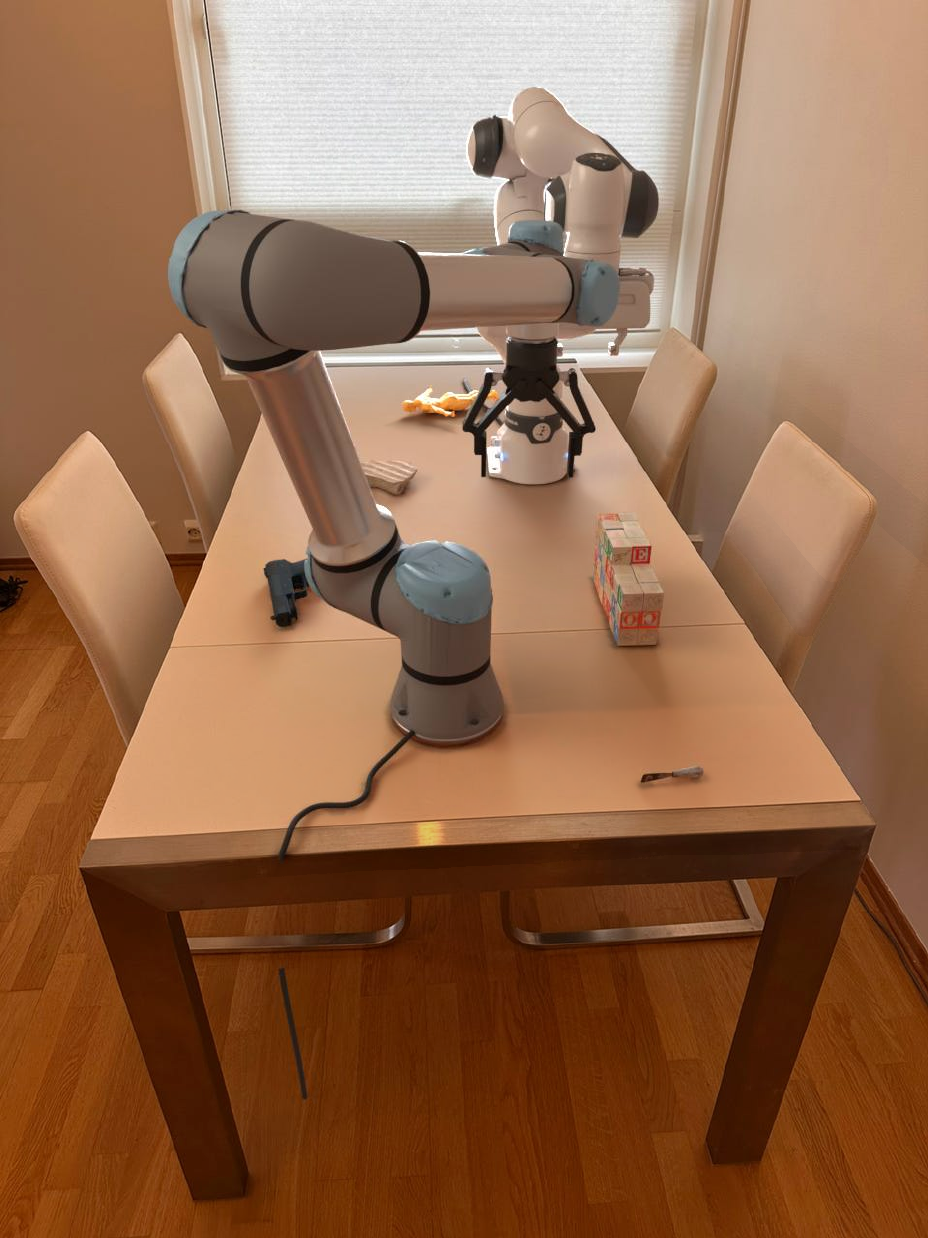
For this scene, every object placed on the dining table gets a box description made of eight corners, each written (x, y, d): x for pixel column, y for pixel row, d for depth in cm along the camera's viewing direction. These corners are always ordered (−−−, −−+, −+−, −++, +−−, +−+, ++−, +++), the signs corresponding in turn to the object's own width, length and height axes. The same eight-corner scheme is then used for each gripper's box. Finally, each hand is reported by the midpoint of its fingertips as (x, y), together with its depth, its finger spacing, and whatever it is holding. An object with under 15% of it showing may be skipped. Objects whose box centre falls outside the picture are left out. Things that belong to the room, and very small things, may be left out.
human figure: (395, 413, 223) (394, 398, 221) (438, 390, 237) (438, 375, 235) (462, 429, 215) (462, 413, 213) (502, 404, 229) (503, 388, 227)
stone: (424, 474, 190) (423, 463, 189) (399, 496, 181) (398, 484, 180) (370, 466, 195) (369, 455, 193) (343, 486, 185) (342, 475, 184)
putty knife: (703, 777, 109) (705, 767, 109) (642, 788, 108) (644, 777, 107) (700, 772, 110) (702, 762, 109) (639, 782, 109) (640, 771, 108)
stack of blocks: (657, 646, 134) (667, 574, 128) (616, 647, 134) (623, 575, 128) (628, 576, 153) (635, 511, 146) (592, 577, 152) (597, 512, 146)
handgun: (348, 619, 141) (272, 630, 139) (332, 566, 156) (262, 576, 153) (347, 602, 140) (269, 613, 137) (331, 550, 154) (260, 559, 151)
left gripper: (615, 330, 132) (603, 465, 144) (447, 330, 133) (448, 464, 144) (621, 344, 126) (608, 484, 137) (445, 343, 126) (446, 482, 138)
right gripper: (650, 263, 146) (642, 348, 153) (526, 265, 145) (523, 351, 152) (660, 271, 140) (650, 359, 148) (530, 273, 140) (527, 361, 147)
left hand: (526, 474), depth 141 cm, fingers open, 13 cm apart
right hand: (585, 355), depth 150 cm, fingers open, 8 cm apart
